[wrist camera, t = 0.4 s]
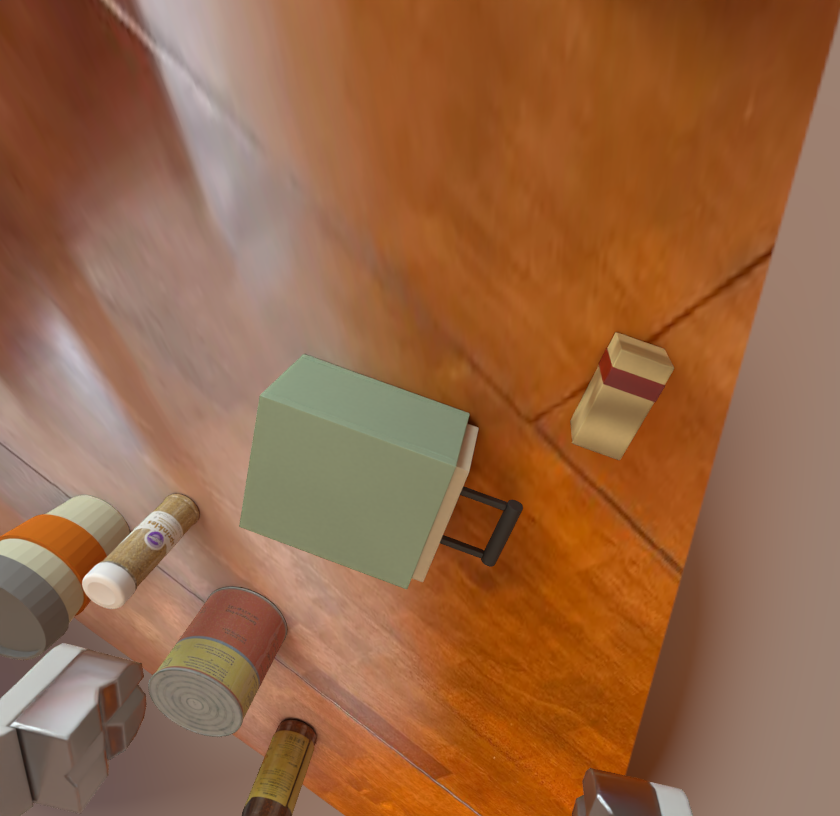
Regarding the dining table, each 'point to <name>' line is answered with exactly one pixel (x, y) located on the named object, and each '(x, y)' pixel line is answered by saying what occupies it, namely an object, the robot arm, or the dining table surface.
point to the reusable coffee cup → (51, 571)
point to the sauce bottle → (282, 771)
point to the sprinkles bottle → (140, 552)
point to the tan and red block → (620, 395)
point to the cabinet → (350, 468)
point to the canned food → (219, 662)
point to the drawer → (447, 506)
